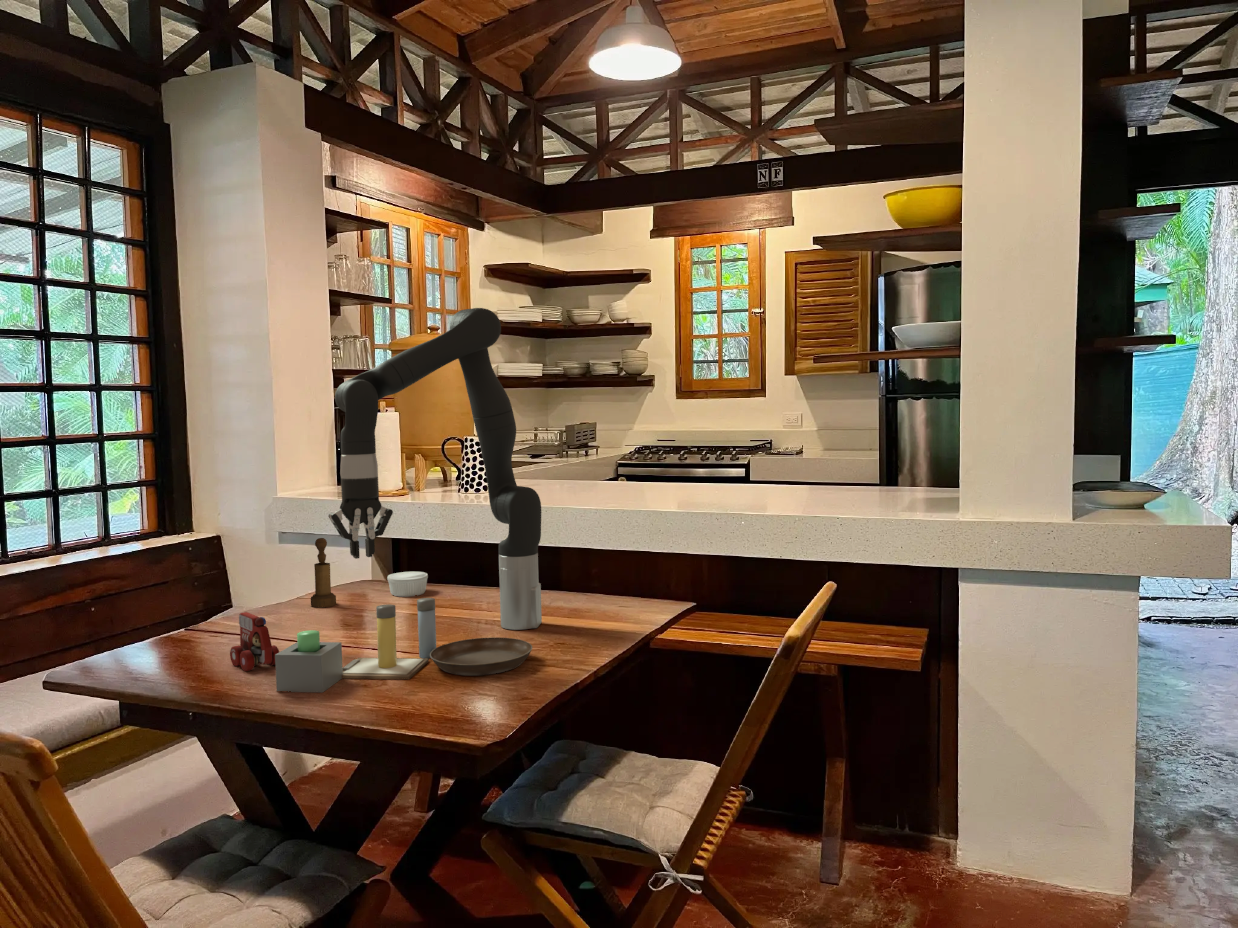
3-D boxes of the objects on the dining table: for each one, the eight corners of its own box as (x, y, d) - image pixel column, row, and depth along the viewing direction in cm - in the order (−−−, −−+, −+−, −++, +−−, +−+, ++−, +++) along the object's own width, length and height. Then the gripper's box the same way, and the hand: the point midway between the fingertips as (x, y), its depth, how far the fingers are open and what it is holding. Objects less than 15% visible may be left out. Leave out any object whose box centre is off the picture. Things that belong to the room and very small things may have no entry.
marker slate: (439, 653, 193) (437, 597, 192) (433, 658, 189) (431, 601, 188) (422, 653, 193) (420, 597, 192) (416, 658, 189) (414, 601, 188)
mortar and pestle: (341, 604, 242) (338, 537, 240) (318, 608, 237) (315, 540, 236) (328, 601, 246) (325, 535, 245) (306, 605, 241) (303, 538, 240)
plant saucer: (413, 663, 186) (412, 647, 186) (500, 645, 199) (500, 630, 199) (460, 687, 170) (459, 670, 170) (552, 666, 183) (551, 650, 182)
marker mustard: (399, 663, 183) (398, 604, 182) (392, 668, 179) (391, 608, 179) (382, 662, 184) (380, 604, 183) (375, 667, 180) (373, 608, 179)
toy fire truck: (251, 675, 180) (248, 623, 179) (227, 662, 189) (224, 613, 188) (285, 667, 185) (283, 617, 184) (260, 655, 194) (257, 608, 193)
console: (342, 677, 177) (341, 642, 176) (322, 692, 168) (321, 655, 167) (299, 676, 178) (297, 641, 177) (276, 691, 169) (274, 654, 169)
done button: (323, 650, 174) (322, 630, 174) (314, 656, 170) (313, 635, 170) (303, 650, 175) (303, 630, 174) (294, 656, 171) (293, 635, 170)
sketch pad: (428, 661, 187) (428, 656, 187) (408, 679, 175) (408, 673, 175) (358, 660, 188) (358, 655, 188) (334, 678, 177) (334, 672, 177)
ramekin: (418, 598, 248) (417, 579, 247) (380, 597, 250) (380, 578, 250) (434, 589, 259) (434, 571, 258) (398, 589, 261) (397, 570, 261)
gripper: (331, 478, 183) (335, 563, 184) (397, 474, 190) (400, 556, 192) (321, 476, 189) (324, 558, 190) (385, 472, 197) (388, 551, 198)
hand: (362, 556), depth 191 cm, fingers closed
